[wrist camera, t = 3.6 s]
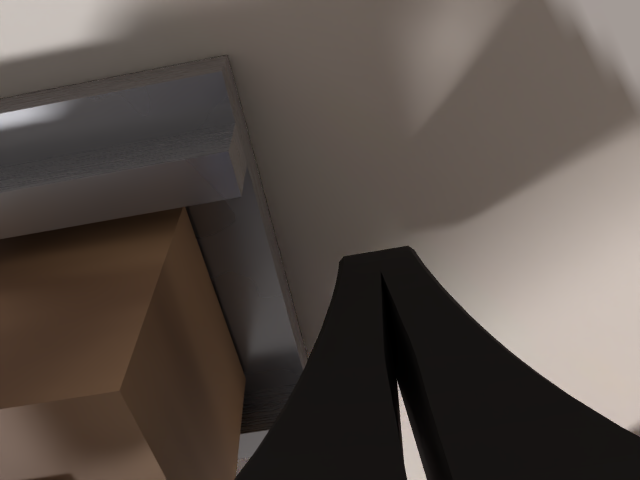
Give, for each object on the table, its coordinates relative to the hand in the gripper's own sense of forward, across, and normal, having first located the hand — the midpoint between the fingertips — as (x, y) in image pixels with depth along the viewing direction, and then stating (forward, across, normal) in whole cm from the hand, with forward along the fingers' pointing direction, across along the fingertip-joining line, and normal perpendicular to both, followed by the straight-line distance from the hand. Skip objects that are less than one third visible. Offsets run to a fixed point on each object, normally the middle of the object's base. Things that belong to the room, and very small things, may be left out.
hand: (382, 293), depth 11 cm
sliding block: (+1, +5, 0) cm, 6 cm away
